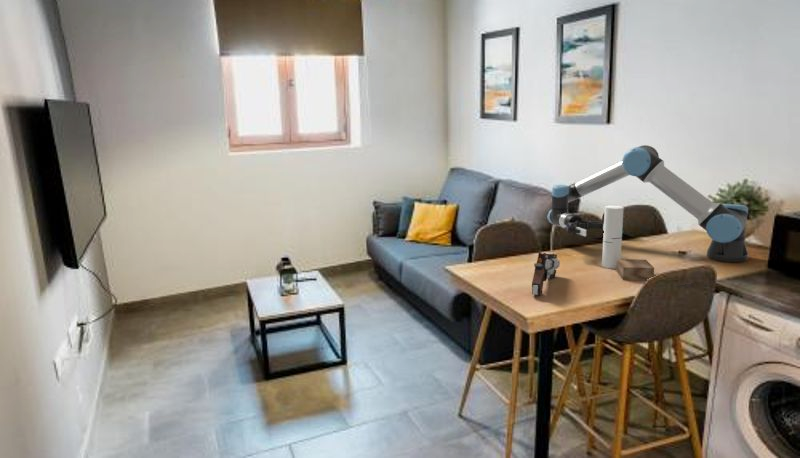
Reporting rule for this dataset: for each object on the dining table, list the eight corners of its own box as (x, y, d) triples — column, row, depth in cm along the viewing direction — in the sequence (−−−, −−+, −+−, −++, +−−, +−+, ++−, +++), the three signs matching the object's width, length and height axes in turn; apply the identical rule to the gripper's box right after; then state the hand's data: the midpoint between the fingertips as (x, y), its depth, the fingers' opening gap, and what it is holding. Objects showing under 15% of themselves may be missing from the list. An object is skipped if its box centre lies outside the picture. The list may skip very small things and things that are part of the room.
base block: (645, 271, 220) (646, 259, 219) (653, 280, 209) (654, 267, 208) (616, 271, 222) (617, 259, 221) (622, 279, 211) (623, 267, 210)
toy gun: (557, 291, 218) (560, 253, 219) (541, 295, 193) (544, 253, 194) (545, 289, 221) (548, 252, 221) (528, 293, 196) (531, 251, 196)
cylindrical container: (621, 268, 225) (625, 208, 219) (603, 268, 226) (606, 208, 221) (618, 263, 232) (621, 205, 226) (600, 263, 233) (603, 205, 228)
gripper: (594, 227, 258) (624, 237, 238) (546, 232, 251) (573, 243, 232) (594, 211, 256) (625, 220, 236) (547, 216, 250) (574, 225, 230)
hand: (599, 231), depth 234 cm, fingers open, 13 cm apart
